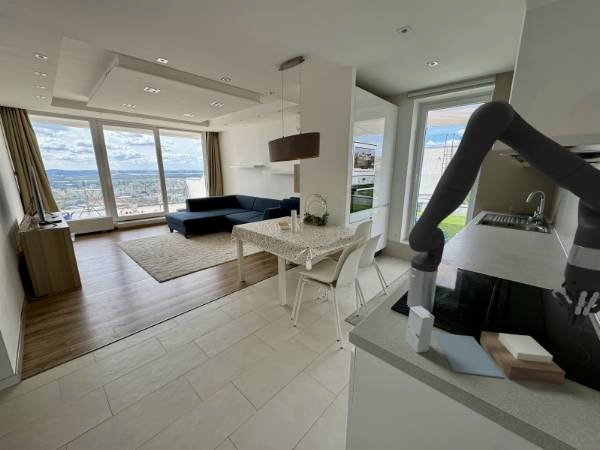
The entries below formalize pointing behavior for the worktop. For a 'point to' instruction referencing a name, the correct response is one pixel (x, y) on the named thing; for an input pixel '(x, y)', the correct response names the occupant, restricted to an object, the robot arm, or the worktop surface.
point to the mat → (467, 355)
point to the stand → (520, 363)
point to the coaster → (525, 348)
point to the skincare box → (419, 328)
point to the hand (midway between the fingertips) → (573, 325)
